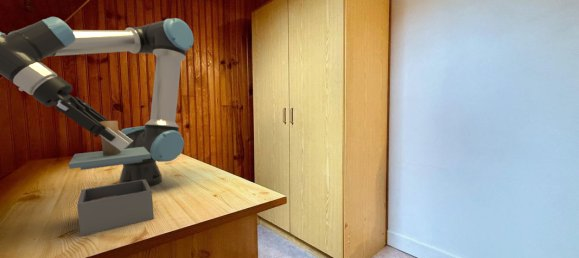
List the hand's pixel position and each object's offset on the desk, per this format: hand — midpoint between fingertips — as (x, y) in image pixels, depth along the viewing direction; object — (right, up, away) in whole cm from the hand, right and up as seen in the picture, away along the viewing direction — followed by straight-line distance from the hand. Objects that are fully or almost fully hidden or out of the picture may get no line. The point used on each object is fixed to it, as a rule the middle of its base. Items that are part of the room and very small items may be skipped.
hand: (127, 145), depth 73 cm
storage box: (-3, -20, +1) cm, 21 cm away
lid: (-3, -4, -1) cm, 6 cm away
